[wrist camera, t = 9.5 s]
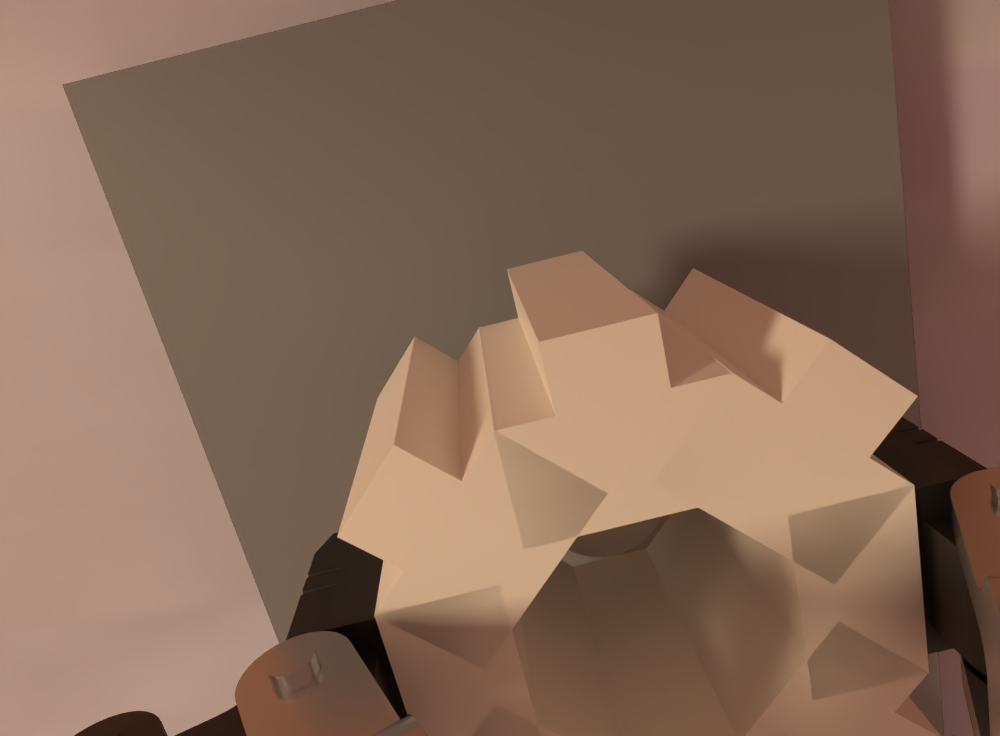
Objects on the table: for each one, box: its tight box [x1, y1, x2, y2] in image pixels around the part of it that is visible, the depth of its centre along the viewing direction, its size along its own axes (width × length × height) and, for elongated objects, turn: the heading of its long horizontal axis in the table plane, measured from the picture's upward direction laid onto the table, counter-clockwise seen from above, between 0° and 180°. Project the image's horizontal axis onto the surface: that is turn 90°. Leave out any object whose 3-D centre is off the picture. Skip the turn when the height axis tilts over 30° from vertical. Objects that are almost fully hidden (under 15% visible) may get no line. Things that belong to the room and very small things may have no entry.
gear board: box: [63, 0, 944, 736], centre depth 14 cm, size 24×14×7 cm, turn 13°
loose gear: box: [337, 251, 941, 736], centre depth 11 cm, size 8×6×4 cm
